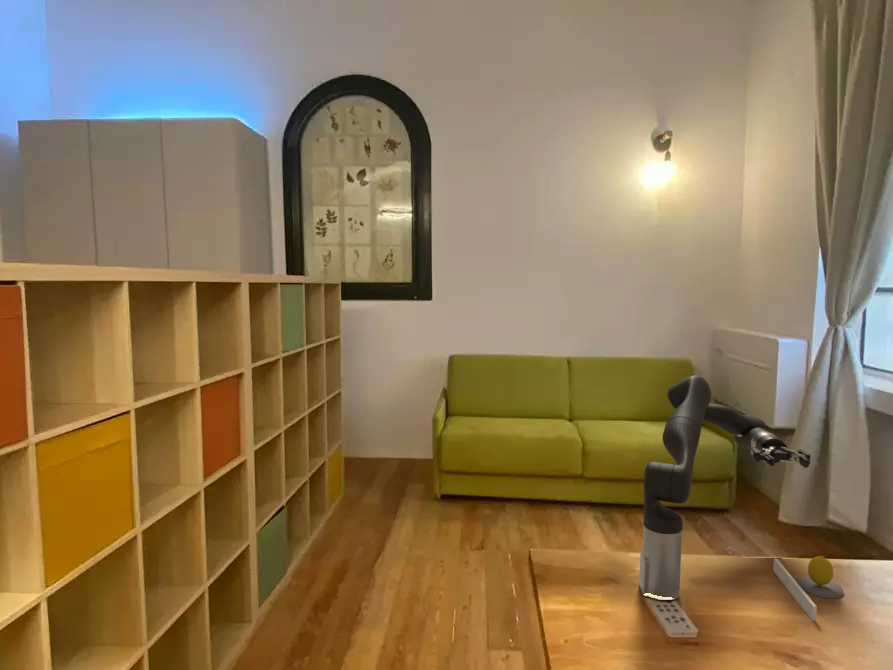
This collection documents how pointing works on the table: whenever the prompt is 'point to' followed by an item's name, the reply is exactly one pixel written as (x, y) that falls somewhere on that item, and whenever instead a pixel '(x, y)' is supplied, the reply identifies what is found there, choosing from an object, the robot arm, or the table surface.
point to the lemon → (820, 570)
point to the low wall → (795, 590)
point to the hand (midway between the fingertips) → (789, 463)
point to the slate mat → (820, 588)
